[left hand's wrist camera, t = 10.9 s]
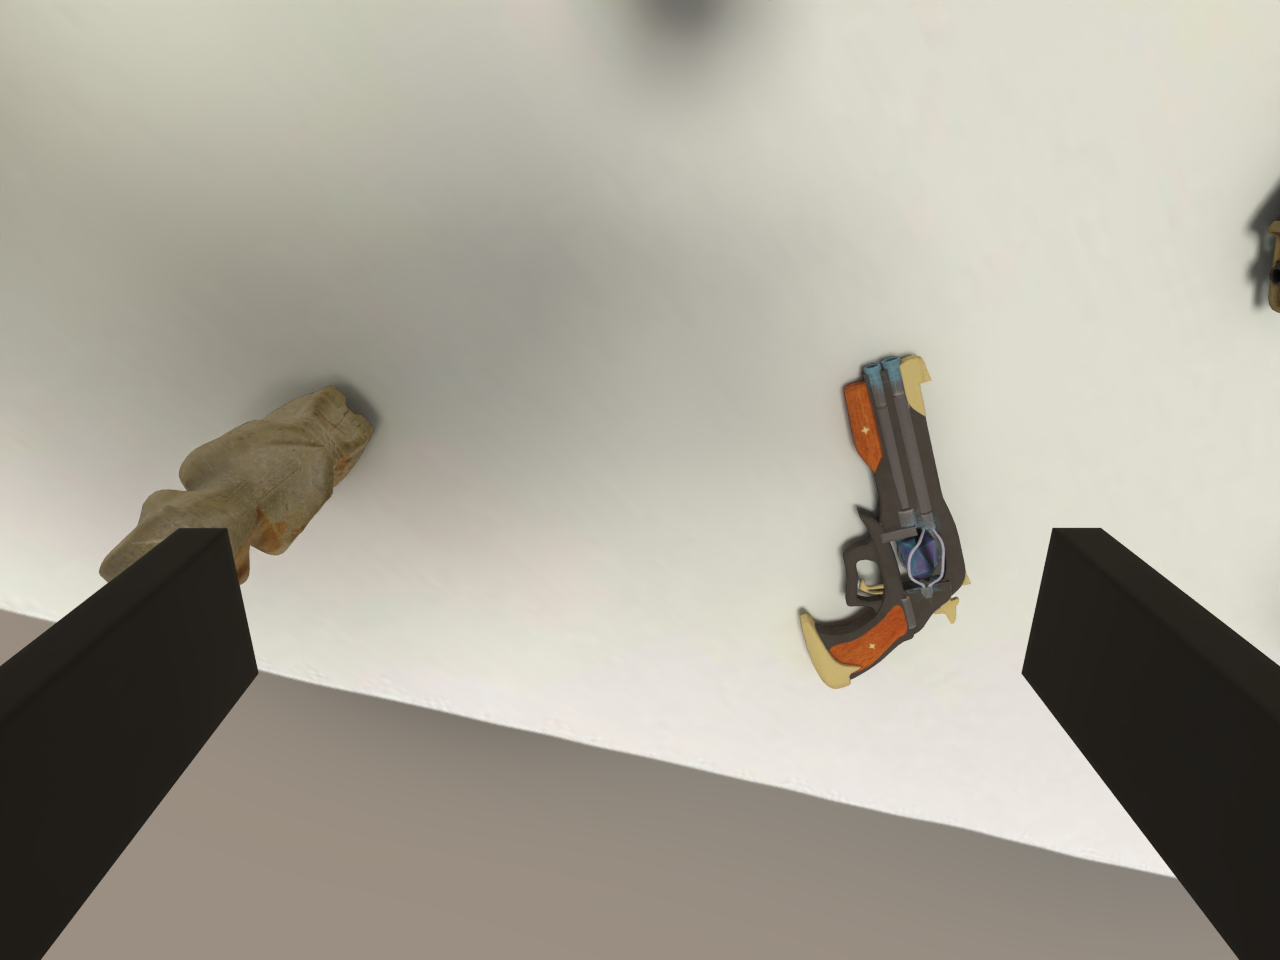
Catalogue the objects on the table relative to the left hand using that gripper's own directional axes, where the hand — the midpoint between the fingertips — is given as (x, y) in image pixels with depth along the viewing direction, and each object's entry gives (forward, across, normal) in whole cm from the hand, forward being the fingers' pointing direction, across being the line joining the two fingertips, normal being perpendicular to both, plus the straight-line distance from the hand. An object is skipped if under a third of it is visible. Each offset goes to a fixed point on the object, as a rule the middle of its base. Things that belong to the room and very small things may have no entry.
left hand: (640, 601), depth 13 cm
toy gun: (+30, -13, +13) cm, 35 cm away
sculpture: (+30, +18, +7) cm, 36 cm away
